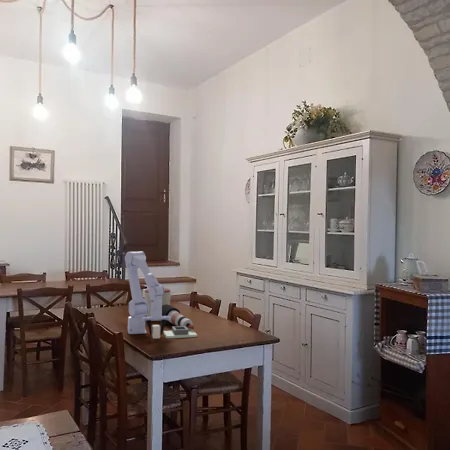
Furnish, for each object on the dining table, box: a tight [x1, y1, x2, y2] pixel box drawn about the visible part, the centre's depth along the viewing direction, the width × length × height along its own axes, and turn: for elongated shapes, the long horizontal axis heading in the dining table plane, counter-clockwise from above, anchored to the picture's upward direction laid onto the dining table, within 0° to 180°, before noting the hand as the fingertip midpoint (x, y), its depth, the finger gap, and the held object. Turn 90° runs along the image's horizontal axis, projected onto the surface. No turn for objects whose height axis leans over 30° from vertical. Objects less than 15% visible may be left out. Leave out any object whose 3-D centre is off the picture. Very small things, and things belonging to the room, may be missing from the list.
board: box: [163, 325, 198, 339], centre depth 253 cm, size 16×12×4 cm
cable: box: [162, 304, 195, 330], centre depth 271 cm, size 10×34×10 cm, turn 31°
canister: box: [142, 287, 173, 317], centre depth 300 cm, size 18×18×21 cm
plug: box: [151, 324, 161, 339], centre depth 248 cm, size 4×5×6 cm
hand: (156, 334), depth 248 cm, fingers open, 5 cm apart
